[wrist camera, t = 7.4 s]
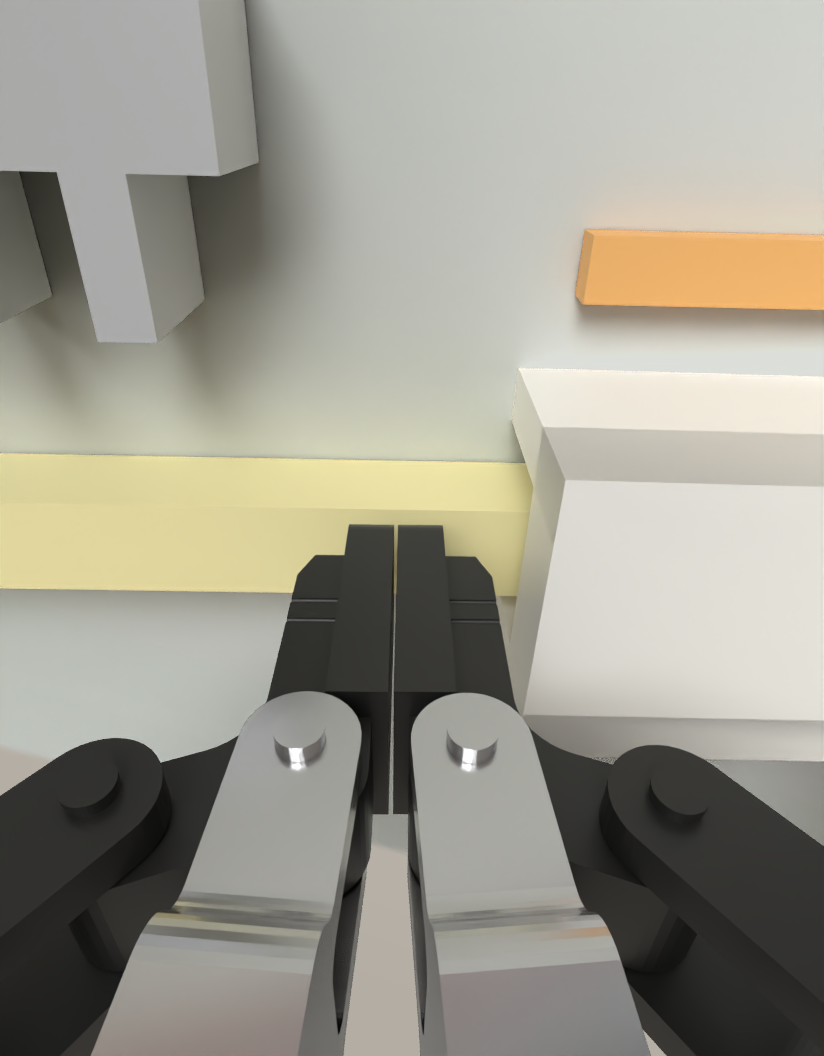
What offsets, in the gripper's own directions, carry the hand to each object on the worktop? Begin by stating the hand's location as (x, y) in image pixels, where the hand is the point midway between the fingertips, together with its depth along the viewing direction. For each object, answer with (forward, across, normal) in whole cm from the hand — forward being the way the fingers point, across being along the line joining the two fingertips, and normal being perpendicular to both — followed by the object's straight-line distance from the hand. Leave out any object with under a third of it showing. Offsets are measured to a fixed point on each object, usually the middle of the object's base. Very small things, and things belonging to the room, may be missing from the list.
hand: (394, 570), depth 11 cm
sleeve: (+3, -6, 0) cm, 7 cm away
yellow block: (+2, +2, 0) cm, 3 cm away
